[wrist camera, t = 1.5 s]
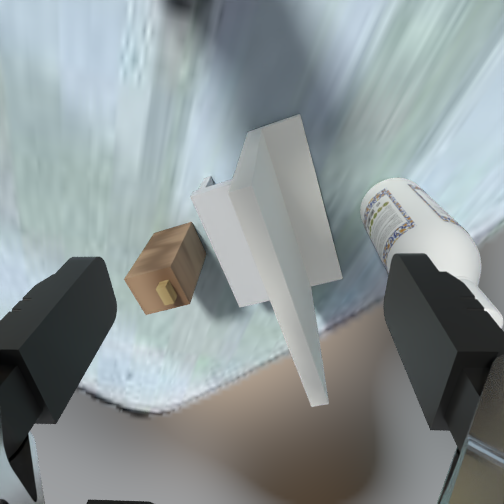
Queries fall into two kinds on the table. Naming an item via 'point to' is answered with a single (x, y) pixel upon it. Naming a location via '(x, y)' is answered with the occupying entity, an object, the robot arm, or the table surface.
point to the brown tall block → (167, 269)
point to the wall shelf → (275, 238)
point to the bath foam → (421, 233)
